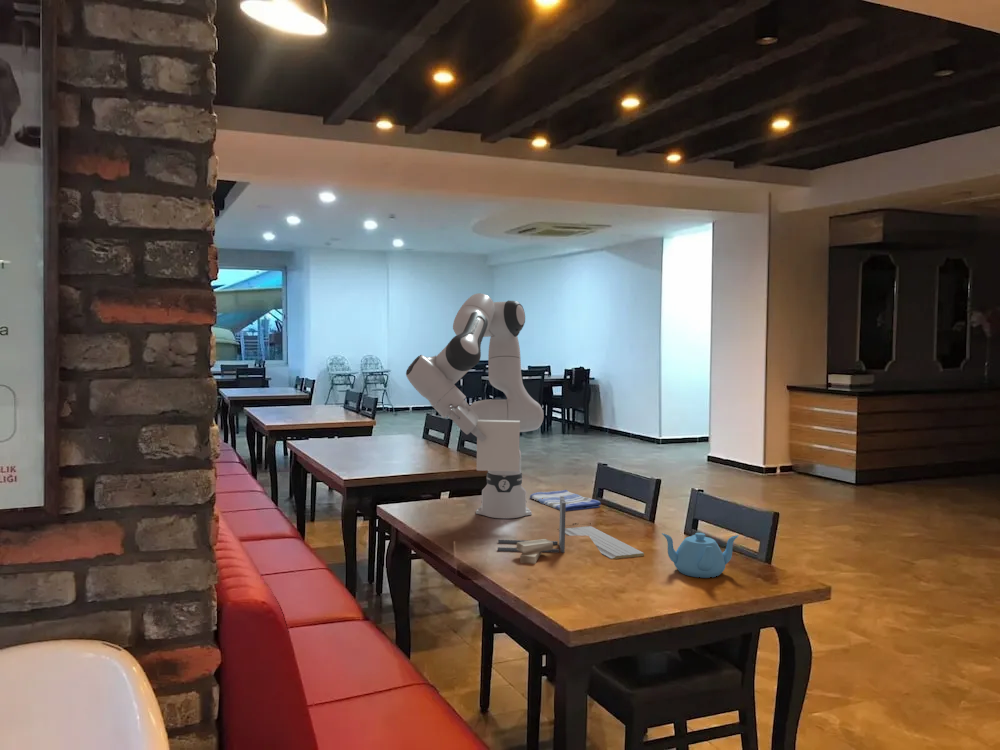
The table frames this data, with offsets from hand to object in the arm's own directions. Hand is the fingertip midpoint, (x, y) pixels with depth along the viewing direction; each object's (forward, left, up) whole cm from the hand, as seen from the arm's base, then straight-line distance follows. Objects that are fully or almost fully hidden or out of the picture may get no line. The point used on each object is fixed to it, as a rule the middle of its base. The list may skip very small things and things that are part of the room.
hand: (484, 438), depth 220 cm
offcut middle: (+14, +13, -30) cm, 36 cm away
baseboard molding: (-7, +34, -32) cm, 47 cm away
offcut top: (+12, +15, -28) cm, 34 cm away
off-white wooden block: (0, +4, -9) cm, 10 cm away
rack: (+4, +13, -31) cm, 34 cm away
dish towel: (-60, +27, -32) cm, 73 cm away
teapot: (+20, +57, -32) cm, 68 cm away
